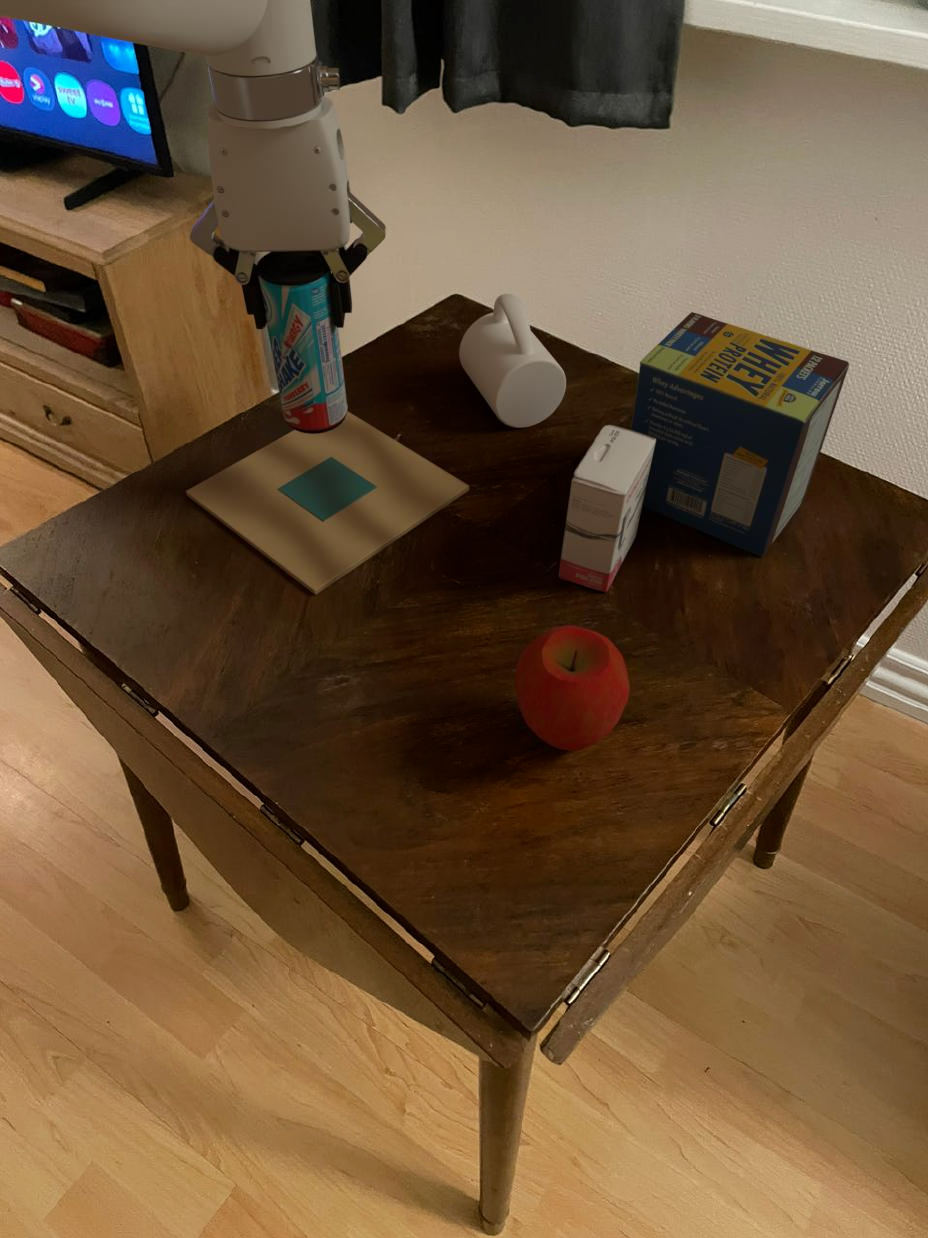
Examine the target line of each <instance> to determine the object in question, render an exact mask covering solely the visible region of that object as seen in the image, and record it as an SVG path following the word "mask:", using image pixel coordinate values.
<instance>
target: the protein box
mask: <svg viewBox="0 0 928 1238" xmlns="http://www.w3.org/2000/svg"><path fill="white" fill-rule="evenodd" d="M849 368H850V362H849V361H848V360H844V359H841V358H839V357H835V356H832V355H829V354H825V353H822V352H818V351H815V350H812V349H810V348H806V347H803V346H799V345H797V344H794V343H791V342H787V341H785V340H781V339H779V338H778V339H777V338H774V337H772V336H769V335H765V334H762V333H760V332H757V331H754V330H750V329H746V328H743V327H740V326H738V325H734V324H731V323H728V322H724V321H720V320H717V319H714V318H712V317H709V316H706V315H703V314H700V313H697V312H694V311H691V312H690V313H689V314H687V315H686V317H685V318H684V319H683V320H682V321H680V322H679V323H678V324H677V325H676V326H675V327H674V328H673V329H672V330H671V331H670V332H669V333H668V334H667V335H666V336H665V337H664V338H663V339H662V340H661V341H660V342H658V344H657V345H655V347H654V348H653V349H651V350H650V352H648V353H647V354H646V355H645V356H644V357H643V358H642V359H641V360H640V361H639V370H638V377H637V383H636V391H635V398H634V403H633V404H634V405H633V412H632V418H631V425H630V430H631V431H635V432H638V433H641V434H644V435H647V436H650V437H653V438H655V439H656V443H655V447H654V452H653V456H652V461H651V466H650V471H649V475H648V480H647V485H646V490H645V494H644V499H643V504H642V508H645V509H647V510H650V511H652V512H654V513H657V514H659V515H661V516H664V517H666V518H669V519H671V520H673V521H676V522H678V523H680V524H684V525H685V526H687V527H689V528H692V529H694V530H696V531H699V532H701V533H703V534H706V535H708V536H711V537H713V538H716V539H718V540H720V541H723V542H724V543H727V544H729V545H732V546H734V547H737V548H739V549H741V550H744V551H746V552H748V553H750V554H753V555H755V556H757V557H761V558H762V557H764V556H765V555H766V554H767V552H768V551H769V550H770V548H771V546H772V545H773V544H774V542H775V541H776V540H777V539H778V537H779V536H780V535H781V533H782V532H783V530H784V529H785V528H786V526H787V525H788V523H789V522H790V520H791V519H792V518H793V516H795V513H797V511H798V509H799V508H800V507H801V505H802V504H803V502H804V501H805V500H806V497H807V495H808V492H809V489H810V485H811V482H812V479H813V476H814V473H815V469H816V467H817V464H818V460H819V458H820V455H821V451H822V449H823V445H824V443H825V439H826V436H827V433H828V430H829V428H830V424H831V420H832V419H833V415H834V412H835V409H836V406H837V403H838V401H839V398H840V394H841V391H842V388H843V386H844V384H845V383H844V382H845V379H846V376H847V374H848V371H849Z"/></svg>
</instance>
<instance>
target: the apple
mask: <svg viewBox="0 0 928 1238" xmlns="http://www.w3.org/2000/svg"><path fill="white" fill-rule="evenodd" d="M514 673H515V674H514V682H513V686H514V691H515V695H516V701H517V704H518V707H519V709H520V712H521V715H522V717H523V719H524V722H525V724H526V726H527V727H528V728H529V729H530V730H531V731H532V732H533V733H534V734H535V736H537V737H538V738H539V739H541V740H542V741H543V742H544V743H546V744H548V745H549V746H551V747H554V748H555V749H558V750H563V751H572V752H575V751H579V750H584V749H586V748H588V747H591V746H593V745H595V744H597V743H598V742H599V741H600V740H602V739H603V738H605V736H607V735H608V734H609V733H611V731H612V730H613V729H614V727H616V725H617V724H618V723H619V721H620V718H621V717H622V714H623V712H624V709H625V707H626V705H627V702H628V700H629V697H630V689H631V685H630V680H629V675H628V670H627V667H626V662H625V659H624V656H623V655H622V653H621V652H620V651H619V649H618V648H617V646H616V645H615V644H614V643H613V642H612V641H611V640H610V639H609V638H608V637H607V636H605V635H603V634H601V633H599V632H598V631H596V630H592V629H588V628H585V627H580V626H577V625H574V624H573V625H572V624H567V625H561V626H554V627H552V628H550V629H548V630H546V631H545V632H544V633H542V634H540V635H538V636H537V637H536V638H534V639H533V640H532V641H531V642H530V643H529V644H527V646H526V647H525V649H524V650H523V651H522V652H521V654H520V656H519V657H518V659H517V663H516V666H515V672H514Z"/></svg>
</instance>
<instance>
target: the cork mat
mask: <svg viewBox="0 0 928 1238" xmlns="http://www.w3.org/2000/svg"><path fill="white" fill-rule="evenodd" d="M468 491H470V485H469V484H467V483H465V482H464V481H462V480H461V479H459V478H458V477H456V476H454V475H452V474H451V473H449V472H447V471H446V470H444V469H442V468H441V467H439V466H437V465H436V464H434V463H433V462H432V461H430V460H428V459H426V458H425V457H423V456H421V455H420V454H418V453H417V452H415V451H414V450H412V449H410V448H409V447H407V446H405V445H404V444H402V443H400V442H398V441H397V440H395V439H393V438H392V437H390V436H389V435H388V434H385V433H384V432H382V431H380V430H379V429H377V428H376V427H374V426H372V425H371V424H370V423H368V422H366V421H365V420H362V419H361V418H359V417H358V416H356V415H354V414H353V413H351V412H349V411H348V410H347V414H346V417H345V420H344V421H343V422H342V424H340V425H339V426H338V427H337V428H335V429H333V430H331V431H328V432H324V433H319V434H307V433H302V432H299V431H296V430H295V429H293V430H292V431H289V432H288V433H286V434H285V435H283V436H281V437H279V438H278V439H276V440H273V441H272V442H270V443H269V444H267V445H265V446H263V447H261V448H260V449H258V450H256V451H254V452H253V453H251V454H249V455H247V456H245V457H244V458H242V459H240V460H238V461H236V462H235V463H233V464H231V465H230V466H228V467H226V468H224V469H222V470H221V471H219V472H217V473H215V474H214V475H211V476H210V477H209V478H207V479H205V480H203V481H201V482H200V483H198V484H196V485H194V486H192V487H191V488H188V489H187V490H185V493H186V496H187V497H188V498H190V499H191V500H192V501H193V502H195V504H197V505H198V506H200V507H201V508H202V509H203V510H205V511H206V512H207V513H209V514H210V515H211V516H212V517H214V518H215V519H216V520H218V521H219V522H220V523H221V524H223V525H224V526H225V527H227V528H228V529H229V530H230V531H232V532H233V533H235V534H236V535H237V536H239V538H241V539H242V540H244V542H246V543H247V544H249V545H250V546H252V547H253V548H254V549H255V550H256V551H258V552H259V553H261V554H262V555H263V556H264V557H266V558H267V559H269V561H271V563H273V564H275V565H276V566H277V567H279V569H281V570H282V571H284V572H285V573H286V574H288V575H289V576H290V577H292V578H293V579H294V580H295V581H296V582H298V583H299V584H300V585H302V586H303V587H305V588H306V589H307V590H308V591H310V592H311V593H312V594H314V595H318V594H320V593H321V592H322V591H324V590H325V589H326V588H328V587H330V586H331V585H333V584H334V583H335V582H337V581H339V580H340V579H341V578H343V577H345V576H346V575H347V574H349V573H350V572H352V571H353V570H354V569H357V568H358V567H359V566H360V565H362V564H363V563H365V562H366V561H368V560H369V559H371V558H372V557H373V556H375V555H377V554H378V553H379V552H381V551H382V550H384V549H385V548H387V547H388V546H390V545H391V544H393V543H394V542H396V541H397V540H399V539H400V538H401V537H403V536H404V535H406V534H407V533H409V532H410V531H412V530H413V529H415V528H416V527H418V526H420V525H421V524H422V523H424V522H425V521H427V520H428V519H429V518H431V517H432V516H434V515H435V514H436V513H439V511H441V510H443V509H444V508H445V507H447V506H448V505H450V504H452V503H453V502H454V501H456V500H458V499H459V498H460V497H462V496H463V495H464V494H466V493H468Z"/></svg>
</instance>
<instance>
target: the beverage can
mask: <svg viewBox="0 0 928 1238" xmlns="http://www.w3.org/2000/svg"><path fill="white" fill-rule="evenodd" d="M256 265H257V272H258V276H259V283H260V289H261V295H262V301H263V306H264V312H265V317H266V328H267V334H268V338H269V345H270V349H271V356H272V360H273V365H274V371H275V377H276V382H277V387H278V393H279V398H280V403H281V410H282V415H283V417H284V420H285V421H286V424H287V425H288V426H289V427H291V429H293V430H296V431H299V432H302V433H307V434H319V433H324V432H328V431H331V430H333V429H335V428H337V427H338V426H339V425H340V424H342V422H343V421H344V420H345V417H346V414H347V411H348V401H347V400H348V399H347V392H346V383H345V376H344V375H345V374H344V367H343V357H342V348H341V341H340V340H341V339H340V332H339V328H337V326H335V325H334V317H333V309H332V301H331V294H330V279H331V273H332V271H331V269H330V268H329V266H328V264H327V262H326V260H325V258H324V256H323V255H322V253H321V251H287V252H267V253H266V254H264V255H263V256H261V258H259V260H258V261H257V263H256Z"/></svg>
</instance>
